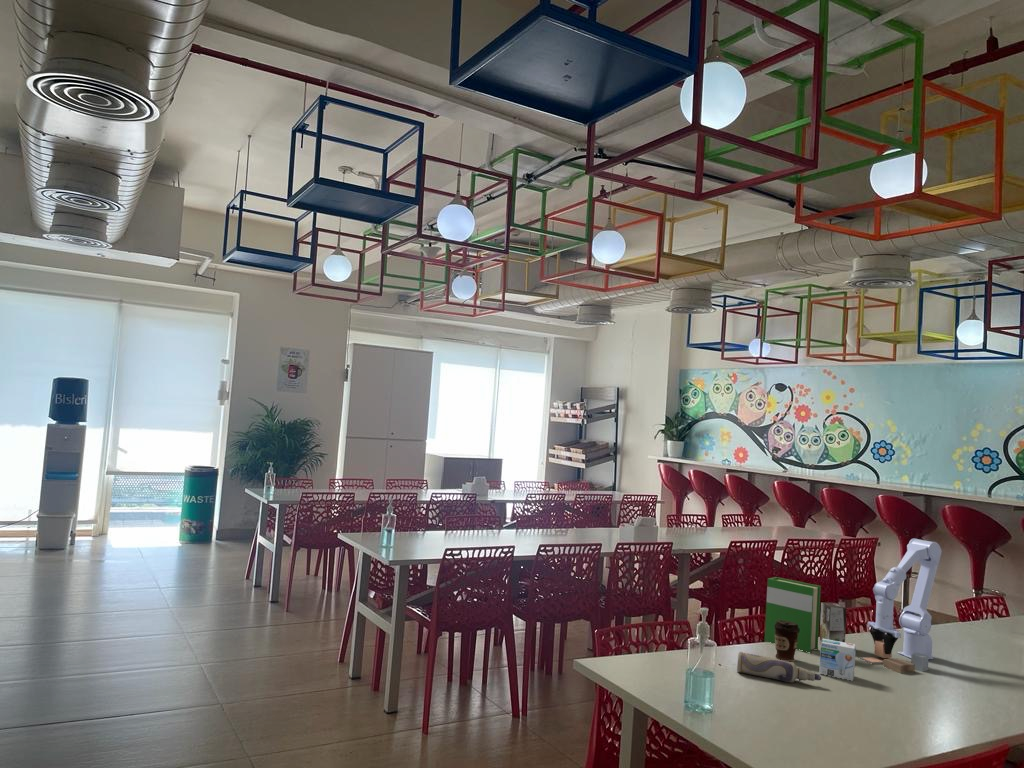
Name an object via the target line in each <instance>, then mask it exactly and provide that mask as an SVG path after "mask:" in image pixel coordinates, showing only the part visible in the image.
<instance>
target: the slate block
mask: <svg viewBox="0 0 1024 768" xmlns="http://www.w3.org/2000/svg"><path fill="white" fill-rule="evenodd" d="M928 657H929V656H927V655H923V654H920V653H914V654H911V658H910V663H912V664H915V670H916V671H919V672H926V671H928V670H929V659H928Z"/></svg>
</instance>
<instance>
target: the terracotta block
mask: <svg viewBox="0 0 1024 768" xmlns="http://www.w3.org/2000/svg"><path fill="white" fill-rule="evenodd" d="M892 652H893V650H892V651H891V654H885V651H884V640H883V641H875V644H874V655H875V656H878V657H880V658H883V659H893V658H892Z"/></svg>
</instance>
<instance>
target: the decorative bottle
mask: <svg viewBox="0 0 1024 768" xmlns="http://www.w3.org/2000/svg"><path fill="white" fill-rule="evenodd" d="M736 672H737V673H742V674H748V675H752V676H757V677H762V678H767V679H771V678H772V680H778V681H782V682H785V683H788V682H790V684H792V683H797V682H801V681H811V682H814V681H821V680H822V675H821V674H819V673H815V672H814V671H812V670H807V669H806V668H802V667H797V665H796V664H795V662H794V661H793V662H789V661H785V660H780V659H778V658H776V657H775V658H773V657H768V656H763V655H758V654H753V653H746V652H742V651H739V652H738V656H737V666H736ZM796 679H797V680H796Z"/></svg>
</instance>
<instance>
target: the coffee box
mask: <svg viewBox="0 0 1024 768" xmlns="http://www.w3.org/2000/svg"><path fill="white" fill-rule="evenodd" d="M846 624H847V607H845V606H843V605H841V604H840V603H837V602H821V601H820V619H819V644H820V643H821V642H822V639H823V638H824V639H829V640H834V641H840V642H845V643H846V627H847V625H846Z"/></svg>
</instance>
